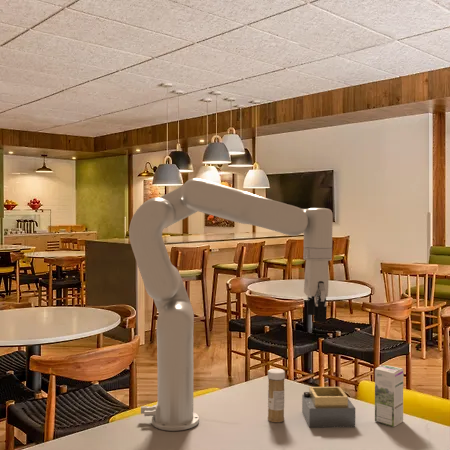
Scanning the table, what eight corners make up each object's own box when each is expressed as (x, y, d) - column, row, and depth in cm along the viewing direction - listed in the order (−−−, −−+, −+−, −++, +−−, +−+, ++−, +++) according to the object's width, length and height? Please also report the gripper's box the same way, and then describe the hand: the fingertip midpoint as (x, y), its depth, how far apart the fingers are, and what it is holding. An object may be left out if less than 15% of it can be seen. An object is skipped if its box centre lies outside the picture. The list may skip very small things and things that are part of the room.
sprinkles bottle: (266, 417, 150) (266, 368, 150) (282, 416, 150) (283, 367, 150) (269, 423, 145) (269, 373, 145) (286, 422, 146) (286, 372, 145)
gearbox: (309, 427, 142) (309, 399, 142) (302, 412, 153) (302, 385, 153) (355, 427, 143) (355, 398, 143) (344, 411, 154) (345, 385, 154)
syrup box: (403, 421, 147) (404, 367, 147) (393, 427, 143) (394, 372, 142) (384, 416, 151) (384, 363, 150) (373, 422, 146) (374, 368, 146)
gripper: (298, 251, 155) (297, 312, 155) (309, 256, 138) (308, 324, 138) (324, 252, 155) (323, 312, 156) (339, 257, 138) (337, 324, 138)
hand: (316, 318), depth 147 cm, fingers open, 9 cm apart
